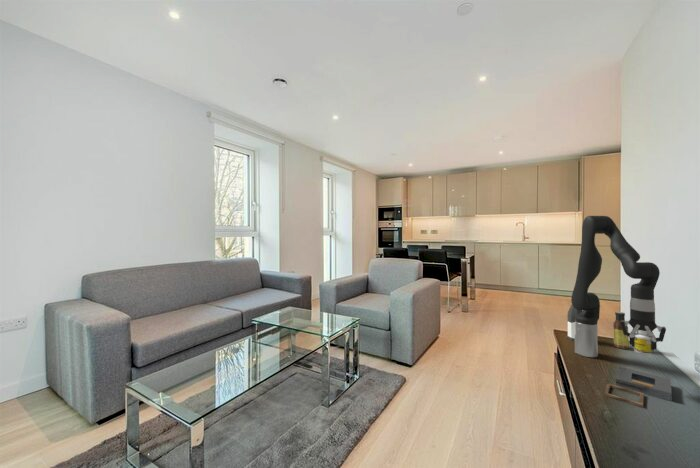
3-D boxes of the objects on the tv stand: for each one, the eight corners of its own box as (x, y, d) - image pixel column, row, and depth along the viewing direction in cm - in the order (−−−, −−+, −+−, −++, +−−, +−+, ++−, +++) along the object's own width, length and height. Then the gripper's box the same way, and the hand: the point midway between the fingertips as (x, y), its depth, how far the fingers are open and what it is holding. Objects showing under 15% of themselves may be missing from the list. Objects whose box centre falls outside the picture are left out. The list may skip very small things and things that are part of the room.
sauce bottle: (631, 350, 159) (631, 314, 159) (618, 349, 160) (618, 314, 160) (623, 345, 165) (622, 311, 165) (610, 344, 166) (610, 310, 166)
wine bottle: (581, 338, 177) (581, 289, 177) (586, 342, 170) (585, 292, 170) (566, 336, 181) (565, 289, 180) (569, 340, 173) (569, 291, 173)
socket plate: (615, 385, 123) (615, 378, 123) (619, 372, 134) (619, 365, 134) (671, 401, 111) (671, 393, 111) (670, 385, 122) (670, 378, 122)
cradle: (604, 395, 116) (604, 393, 116) (607, 385, 123) (607, 383, 123) (642, 407, 108) (642, 404, 108) (643, 395, 115) (643, 393, 115)
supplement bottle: (630, 350, 125) (630, 327, 125) (641, 349, 126) (641, 327, 126) (644, 355, 120) (643, 332, 120) (655, 354, 120) (655, 331, 120)
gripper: (667, 310, 120) (667, 350, 120) (620, 304, 130) (620, 341, 131) (667, 313, 115) (667, 355, 115) (618, 307, 125) (619, 345, 125)
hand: (642, 347), depth 123 cm, fingers closed on supplement bottle, 5 cm apart
